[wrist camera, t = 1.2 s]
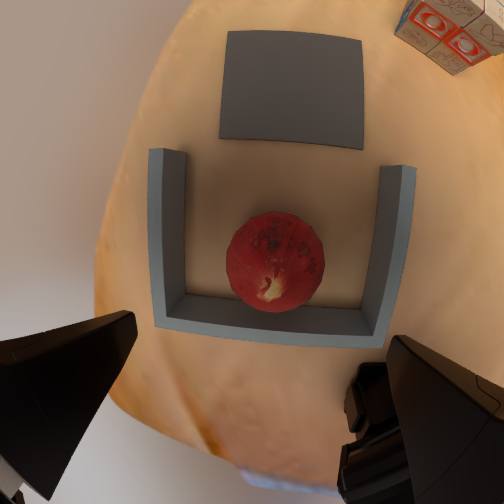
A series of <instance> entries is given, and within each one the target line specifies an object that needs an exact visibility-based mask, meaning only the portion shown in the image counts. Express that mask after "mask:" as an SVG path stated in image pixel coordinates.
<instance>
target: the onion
mask: <svg viewBox="0 0 504 504" xmlns="http://www.w3.org/2000/svg"><path fill="white" fill-rule="evenodd" d="M324 267H325V260H324V253H323V246H322V243H321V241H320V239H319V238H318V236H317V235H316V233H315V232H314V230H313V229H312V227H311V226H309V225H308V224H306V223H305V222H303V221H302V220H300V219H299V218H298V217H296V216H295V215H291V214H284V213H278V212H269V213H265V214H262V215H259V216H255V217H252V218H250V219H249V220H248V221H247V222H246V223H245V224H244V225H243V226H242V227H241V228H240V229H238V230H237V232H236V233H235V235H234V237H233V239H232V241H231V243H230V245H229V247H228V249H227V258H226V271H227V275H228V278H229V281H230V285H231V288H232V290H233V291H234V292H235V293H236V294H237V295H238V296H239V297H240V298H241V299H242V300H243V301H244V302H245V303H246V304H248V305H250V306H252V307H254V308H256V309H258V310H261V311H268V312H275V313H278V312H283V311H287V310H292V309H295V308H297V307H298V306H300V305H301V304H303V303H304V302H306V301H308V300H309V299H310V298H311V297H312V295H313V294H314V292H315V291H316V290H317V288H318V287H319V285H320V283H321V281H322V277H323V272H324Z"/></svg>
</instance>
